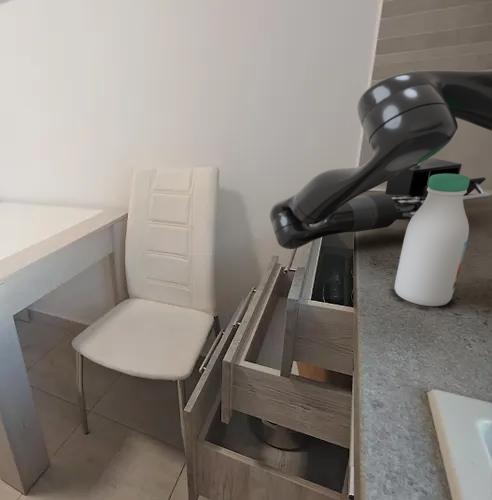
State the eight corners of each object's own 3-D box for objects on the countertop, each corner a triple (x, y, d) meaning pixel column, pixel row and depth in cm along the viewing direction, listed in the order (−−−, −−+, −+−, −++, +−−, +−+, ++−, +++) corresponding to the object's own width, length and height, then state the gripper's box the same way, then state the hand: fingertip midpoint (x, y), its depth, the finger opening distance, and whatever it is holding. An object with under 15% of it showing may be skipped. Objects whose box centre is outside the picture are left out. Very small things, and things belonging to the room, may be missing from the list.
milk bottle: (444, 313, 56) (479, 186, 48) (387, 297, 62) (410, 180, 53) (455, 292, 61) (489, 172, 53) (401, 279, 66) (424, 168, 58)
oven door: (463, 219, 88) (497, 192, 79) (394, 229, 87) (420, 203, 78) (453, 204, 90) (484, 177, 81) (385, 213, 89) (410, 187, 80)
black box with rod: (449, 212, 91) (462, 160, 86) (404, 218, 90) (414, 166, 85) (423, 203, 99) (433, 154, 93) (380, 208, 98) (388, 160, 93)
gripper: (389, 205, 71) (473, 193, 72) (346, 188, 84) (418, 177, 84) (383, 241, 74) (463, 228, 75) (342, 219, 87) (412, 208, 88)
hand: (439, 201), depth 80 cm, fingers closed
